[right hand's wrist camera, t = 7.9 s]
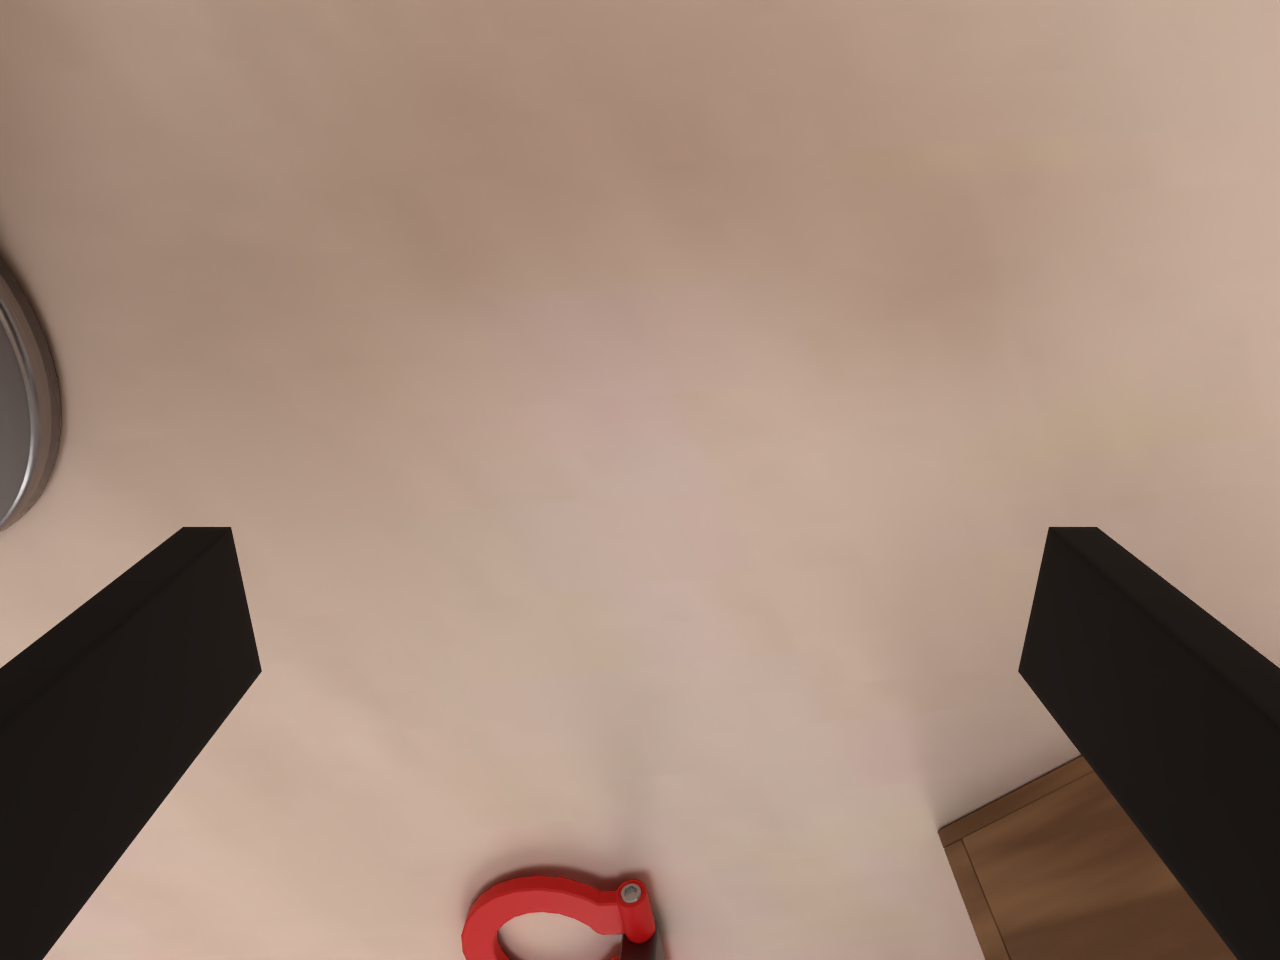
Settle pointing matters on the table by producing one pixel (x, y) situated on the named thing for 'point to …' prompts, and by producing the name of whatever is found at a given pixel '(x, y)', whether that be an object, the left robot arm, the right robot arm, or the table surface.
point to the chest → (1071, 878)
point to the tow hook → (568, 898)
